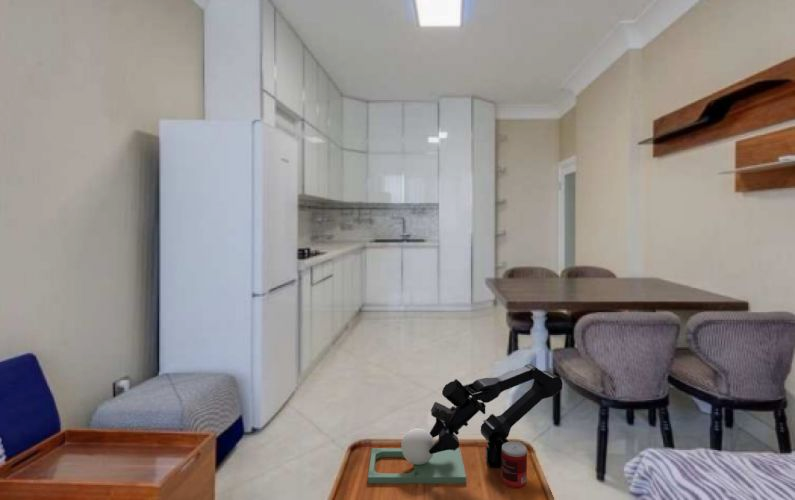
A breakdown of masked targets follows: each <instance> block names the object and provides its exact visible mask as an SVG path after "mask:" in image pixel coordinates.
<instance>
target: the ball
mask: <svg viewBox="0 0 795 500" xmlns="http://www.w3.org/2000/svg"><path fill="white" fill-rule="evenodd" d="M435 443H436V442H435V439H434V438H433V437H432V436H431V435H430V432H429V431H427V430H426V429H424V428H417V427H416V428H415V427H414V428H412V429H410V430H408V431H407V432H406V433H405V434H404V436H403V437H402V439H401V444H400V445H401V447H400V448H401V449H402V453H403V455H404V457H403V458H405V459H406V461H408V462H409V463H411V464H412V465H414V464H416V465H421V464H425V463H426V462H428V461H429V460H430V459H431V458H432V456H433V454H434V453H433V454H430V453H429V450H430V449H431V448H432V446H433V445H434V444H435Z"/></svg>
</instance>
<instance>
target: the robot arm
mask: <svg viewBox="0 0 795 500" xmlns="http://www.w3.org/2000/svg"><path fill="white" fill-rule="evenodd" d="M532 380H533V382H532V386H531V387H530V389H528V390H527V391H526V392H525V393H523V394H522V395H521V397H520V398H518V399H517V400H516V401H515V402H514V403H513V404H512V405H510V406H509V407H508V408H507V409H506V410H505V411H504V412H503V413H502V414H500V415H495V414H494V413H491V414H489V416H488V417H487V418H486V419H484V420H483V421H482V422H483V423H482V424H481V425H480V433H481V435H482V437H483V438H484V439H485V440H486V441H487V446H486V447H485V460H486V463H487V464H488V467H489V468H501V466H502V445H503V444H504V443H506V442H510V441H509V439H508V437H509V435H510V433H511V432H510V431H511V429H512V427H514V425H516V424H517V423H518V422H519V421H520V420H521V419H523V418H524V417H525V416H526V414H528V413H529V412H530V411H531V410H532V409H534V407H535V406H537V404H538V405H539V403H540V402H541V401H542V400H545V399H547V398H548V399H549V398H552V397H554V396H555V395H556V394H559V393H560V392H561V391H562V389H563V380H562V379H561V378H560V377H559V376H557V375H556V374H554V373H552V372H550V371H548V370H541V369H539V368H537V367H536V366H535V365H533V364H530V363H529V364H527V363H526V364H525V365H524V366H522V367H520V368H516V369H514V370H512V371H509V372H507V373H504V374H500V375H499V376H497V377H484V378H479V379H476V380H474V381H473V382H471V383H468V384H464V385H463V384H462V382H461V381H460V380H458V379H457V378H455V379H454V380H452V381H450V382H448V383H446V384H445V385H444V387H443V389H442V391H441V393H442V396H443V397H444V398H445V399H446V400H447V401H448V402H450V403H451V404H452V405H453V406H451V407H450V408H449V407H447V406H445V405H444V404H441V403H439V402H438V401H435V402H434V403H433V405H432V407H431V409H430V412H431V414H430V415H431V416H432V417H433V418H434V419H435V423H434V425H433V427H432V428H431V429H430V432H429V433H430V435H431V436H432V437H433V439H434V438H437V436H438V438H437V440H436V442H434V443H435V444H434V445H433V446H432V448H431V449H430V450H429V453H430V454H433V453H437V452H441V451H445V450H454V451H455V450H456V449H457V448H460V441H459V438H458V435H459V433H460V429H461V428H463V427H464V426H465V427H468V425H469V423H468V422H469V421H470V420H472V418H473V417H474V416H475V415H476V414H478V412H481V413H482V414H483V415H486V404H487V403H490V402H492V401H493V400H495V399H497V398H498V397H499V396H500V394H501V393H503V392H504V391H507V390H509V389H512V388H514V387H517V386H520V385H522V384H524V383H526V382H529V381H532Z"/></svg>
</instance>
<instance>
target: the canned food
mask: <svg viewBox="0 0 795 500" xmlns="http://www.w3.org/2000/svg"><path fill="white" fill-rule="evenodd" d="M527 467H528V448H527V447H526V445H524V444H523V443H521V442H517V441H509V442H506V443H504V444H503V445H502V466H501V467H500V468H501V474H500V475H501V481H502V484H504V485H505V486H507V487H508V488H511V489H522V488H523V487H525V486H526V484H527V479H528V477H527V476H528V475H527V474H528V473H527V471H528V470H527Z"/></svg>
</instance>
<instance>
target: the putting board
mask: <svg viewBox="0 0 795 500" xmlns="http://www.w3.org/2000/svg"><path fill="white" fill-rule="evenodd" d="M462 456H463V455H462V453H461V448H460V447H458V448H457V449H456V450H455V451H454V450H445V451H441V452H437V453H434V454H433V456H432V458H431V459H430V460H429V461H428V462H426V463H425V464H421V465H416V464H413V468H414V469H413V470H412V471H410V472H409V473H407V472H405V473H404V472H403V473H400V472H395V473H388V472H387V473H385V472H384V473H383V472H382V473H379V472H377V471H376V469H375V468H376V463H377V460H378V459H380V458H405V457H404V455H403V453H402V449H401V447H400V448H399V447H396V448H395V447H394V448H393V447H392V448H388V447H385V448H384V447H383V448H382V447H381V448H378V447H377V448H371V451H370V461H369V467H368V468H369V469H368V473H367V483H368V484H467V475H466V470H465V466H464V461H463V457H462Z"/></svg>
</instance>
